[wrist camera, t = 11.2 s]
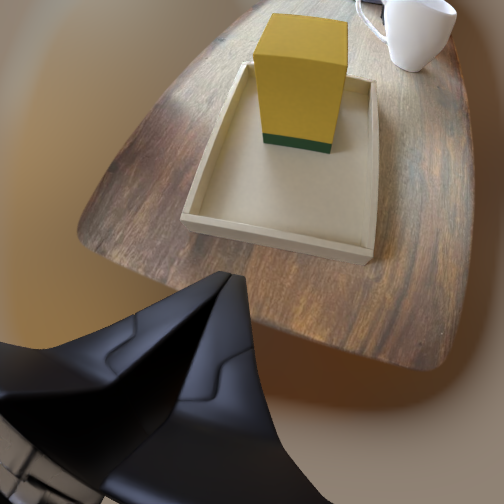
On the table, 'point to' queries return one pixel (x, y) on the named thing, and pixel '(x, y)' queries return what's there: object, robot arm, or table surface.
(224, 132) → the tray
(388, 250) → the table surface
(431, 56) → the mug
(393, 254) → the table surface
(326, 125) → the block
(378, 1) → the bowl
